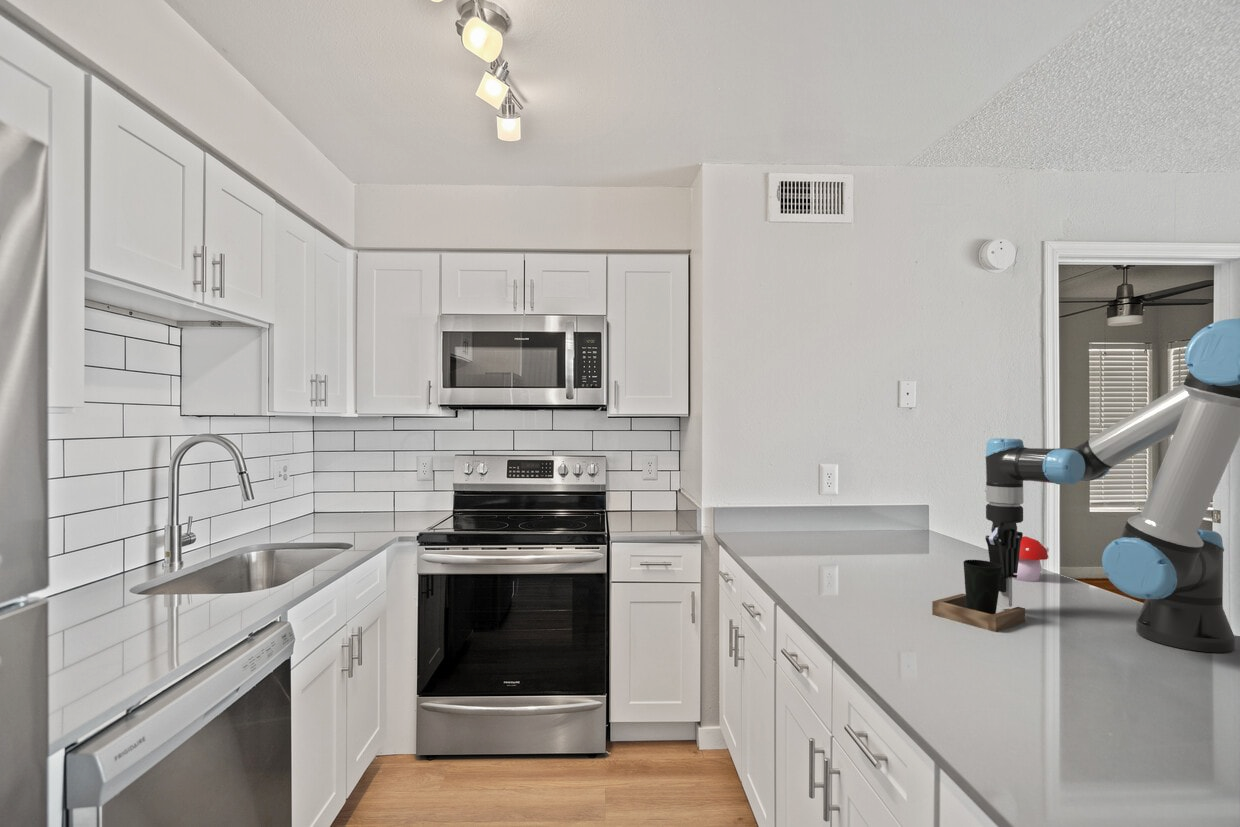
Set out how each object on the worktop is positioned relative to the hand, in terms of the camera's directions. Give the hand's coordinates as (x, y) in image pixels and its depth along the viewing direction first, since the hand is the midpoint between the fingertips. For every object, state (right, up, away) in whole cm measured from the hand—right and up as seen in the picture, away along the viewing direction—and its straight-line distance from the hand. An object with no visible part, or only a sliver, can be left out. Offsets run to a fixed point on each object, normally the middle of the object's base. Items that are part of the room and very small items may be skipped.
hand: (1004, 605), depth 150 cm
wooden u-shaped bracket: (-9, -1, -6) cm, 10 cm away
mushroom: (+24, -2, +30) cm, 39 cm away
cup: (-8, -1, -5) cm, 10 cm away
